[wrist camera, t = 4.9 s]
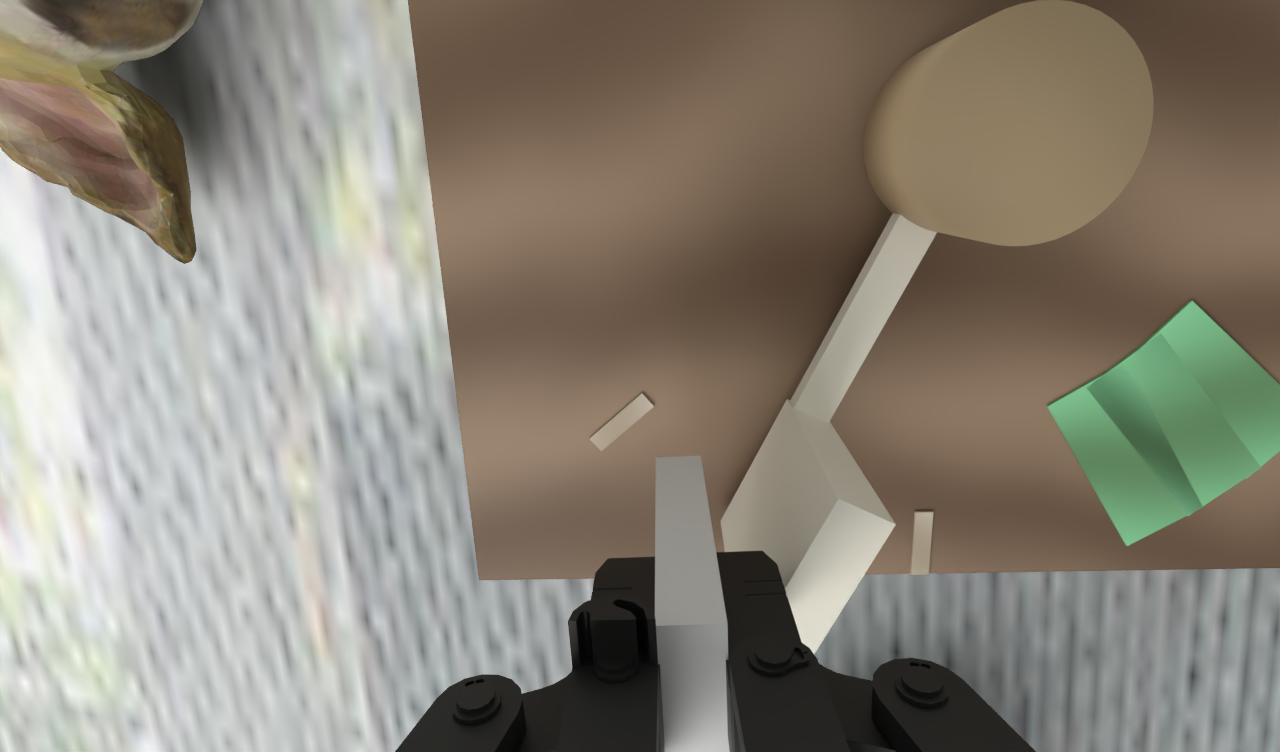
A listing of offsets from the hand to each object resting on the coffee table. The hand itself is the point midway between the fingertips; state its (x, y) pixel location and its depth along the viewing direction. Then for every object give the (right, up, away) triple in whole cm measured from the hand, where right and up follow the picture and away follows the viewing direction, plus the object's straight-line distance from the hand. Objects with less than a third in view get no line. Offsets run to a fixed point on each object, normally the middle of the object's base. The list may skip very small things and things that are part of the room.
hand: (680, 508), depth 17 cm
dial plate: (+7, +6, +3) cm, 9 cm away
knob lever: (+5, +5, +1) cm, 7 cm away
